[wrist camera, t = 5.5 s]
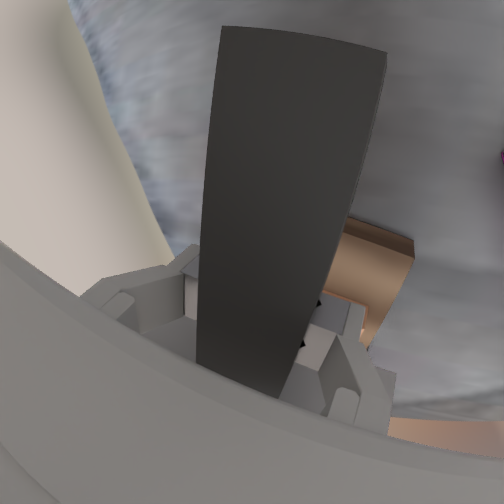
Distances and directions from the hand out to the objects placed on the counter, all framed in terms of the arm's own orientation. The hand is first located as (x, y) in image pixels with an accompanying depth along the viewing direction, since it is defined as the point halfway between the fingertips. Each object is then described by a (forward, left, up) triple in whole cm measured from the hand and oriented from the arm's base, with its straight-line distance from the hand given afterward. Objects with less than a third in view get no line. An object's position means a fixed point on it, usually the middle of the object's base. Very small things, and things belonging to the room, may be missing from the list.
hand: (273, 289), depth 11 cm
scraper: (-2, 0, -2) cm, 3 cm away
